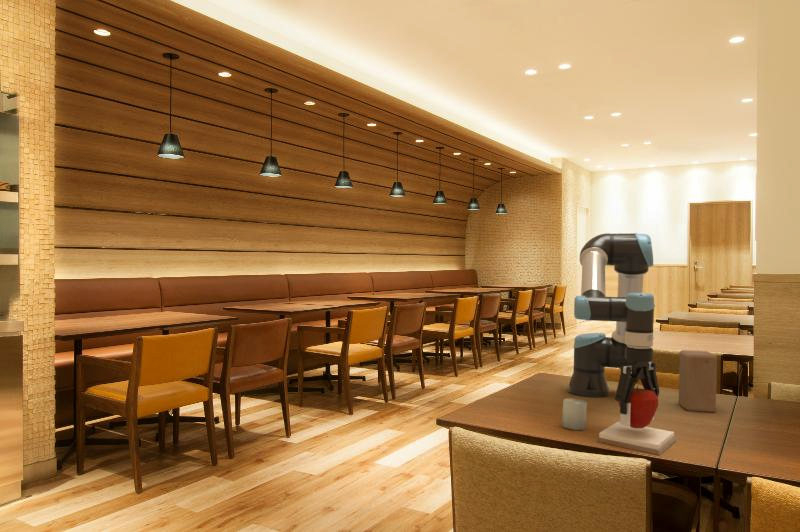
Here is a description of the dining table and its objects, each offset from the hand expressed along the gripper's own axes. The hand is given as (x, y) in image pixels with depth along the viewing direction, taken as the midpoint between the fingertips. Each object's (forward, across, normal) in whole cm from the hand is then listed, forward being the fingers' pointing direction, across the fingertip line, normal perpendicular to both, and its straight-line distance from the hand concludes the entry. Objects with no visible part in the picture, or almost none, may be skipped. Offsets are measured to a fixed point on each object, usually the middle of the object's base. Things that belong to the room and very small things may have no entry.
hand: (637, 422), depth 168 cm
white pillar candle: (+6, -4, +19) cm, 20 cm away
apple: (+2, 0, 0) cm, 2 cm away
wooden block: (+6, +53, +10) cm, 54 cm away
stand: (+6, 0, 0) cm, 6 cm away
